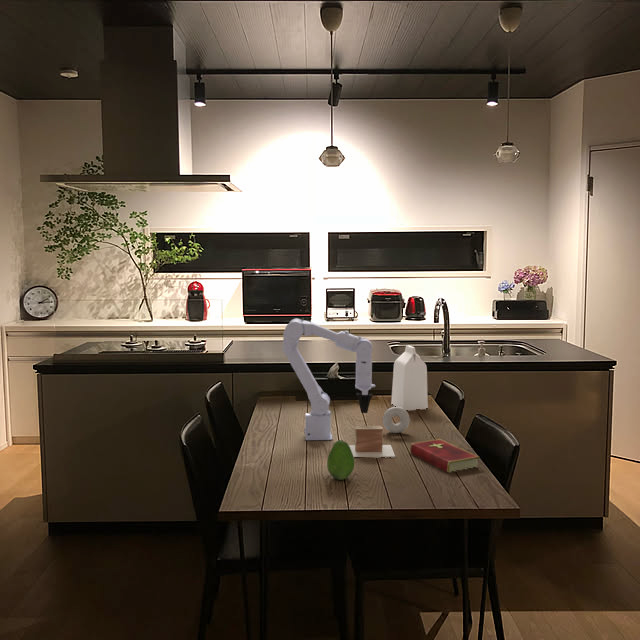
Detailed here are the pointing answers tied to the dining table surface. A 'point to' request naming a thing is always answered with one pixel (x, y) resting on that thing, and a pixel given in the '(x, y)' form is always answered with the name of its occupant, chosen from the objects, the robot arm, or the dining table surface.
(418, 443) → the hardcover book
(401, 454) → the dining table surface
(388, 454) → the mat
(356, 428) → the tan wooden block
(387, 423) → the donut
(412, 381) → the milk
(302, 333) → the robot arm
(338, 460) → the fruit
